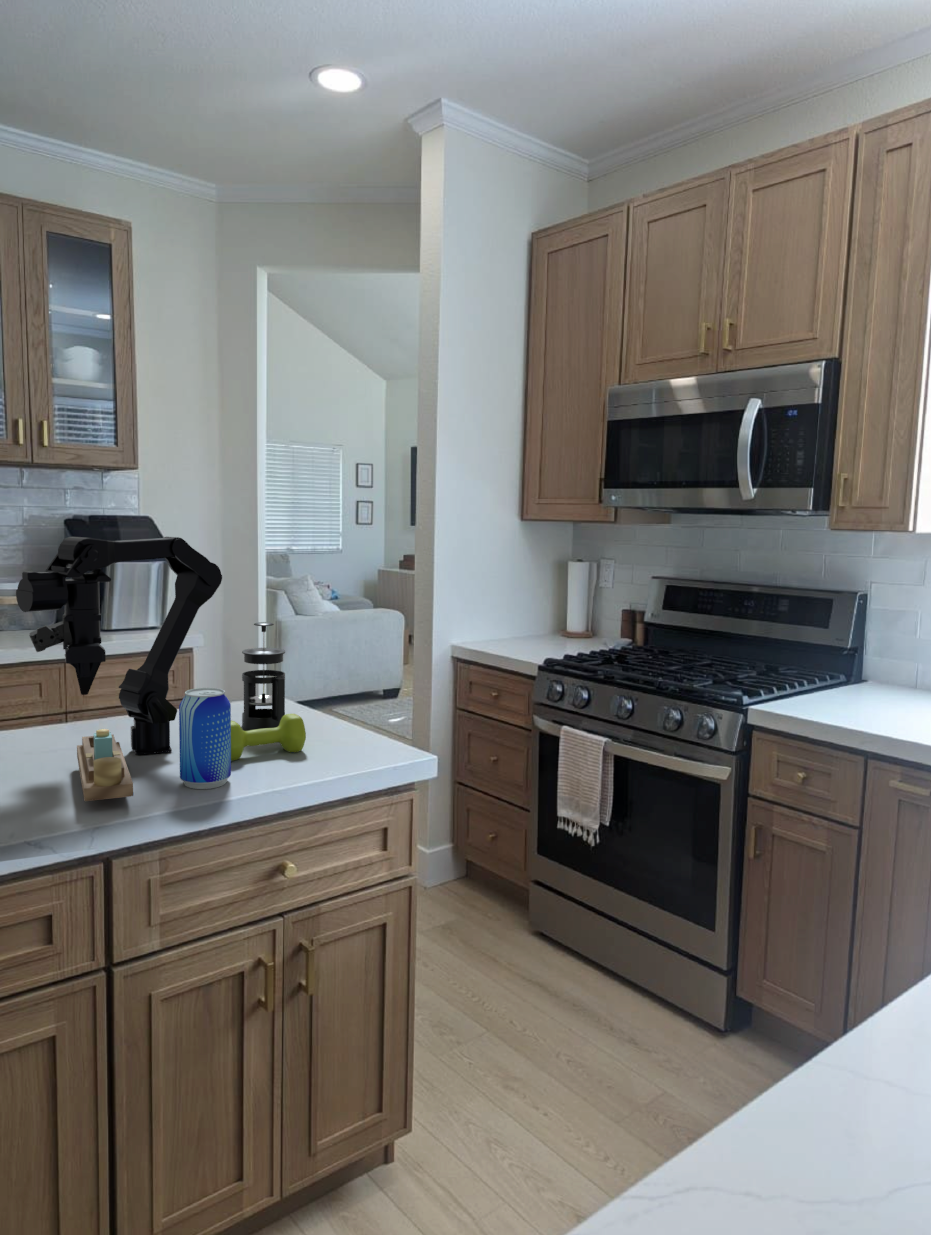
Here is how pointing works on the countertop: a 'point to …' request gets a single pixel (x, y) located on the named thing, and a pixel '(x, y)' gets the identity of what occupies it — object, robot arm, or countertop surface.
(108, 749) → the block
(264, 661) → the french press
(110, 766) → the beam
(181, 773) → the beer can
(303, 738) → the dumbbell
